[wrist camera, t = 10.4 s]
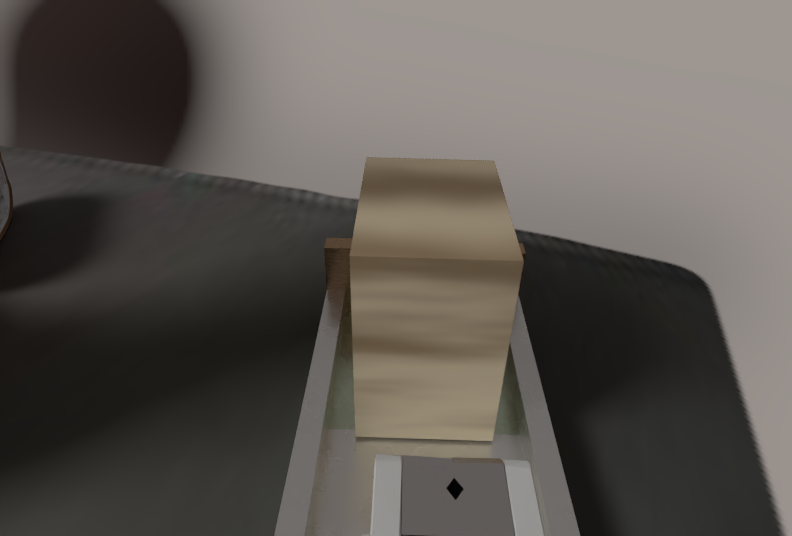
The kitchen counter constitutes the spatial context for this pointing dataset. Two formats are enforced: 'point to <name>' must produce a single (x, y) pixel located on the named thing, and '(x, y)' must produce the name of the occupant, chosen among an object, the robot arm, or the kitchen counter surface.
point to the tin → (5, 200)
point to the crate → (431, 298)
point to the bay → (355, 456)
